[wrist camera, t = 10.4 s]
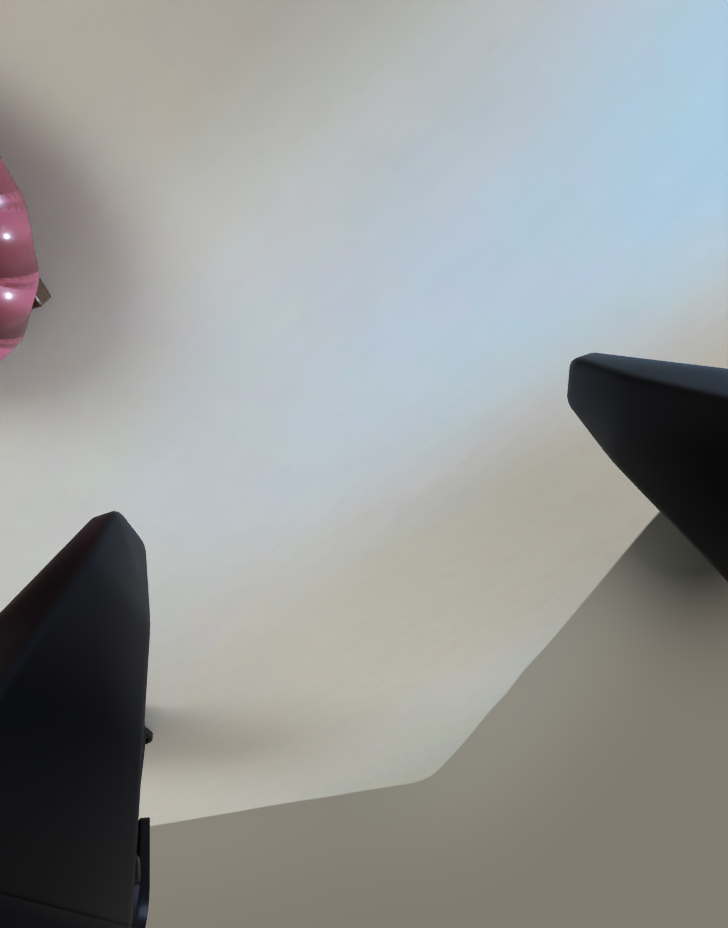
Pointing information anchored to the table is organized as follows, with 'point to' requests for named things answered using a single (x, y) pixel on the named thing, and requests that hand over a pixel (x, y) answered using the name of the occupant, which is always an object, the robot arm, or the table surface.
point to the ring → (15, 264)
